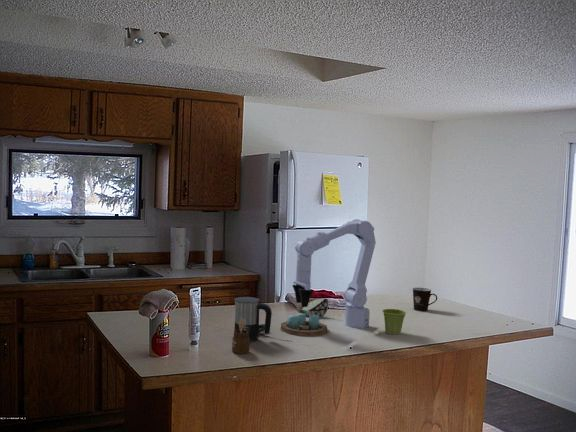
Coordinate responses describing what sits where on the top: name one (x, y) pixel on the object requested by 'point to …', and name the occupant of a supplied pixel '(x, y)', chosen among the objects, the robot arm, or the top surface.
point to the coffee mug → (422, 298)
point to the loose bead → (301, 319)
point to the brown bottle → (241, 340)
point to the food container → (315, 307)
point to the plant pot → (393, 320)
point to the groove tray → (302, 332)
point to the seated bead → (313, 322)
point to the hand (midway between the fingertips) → (301, 304)
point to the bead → (292, 322)
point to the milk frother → (251, 316)
